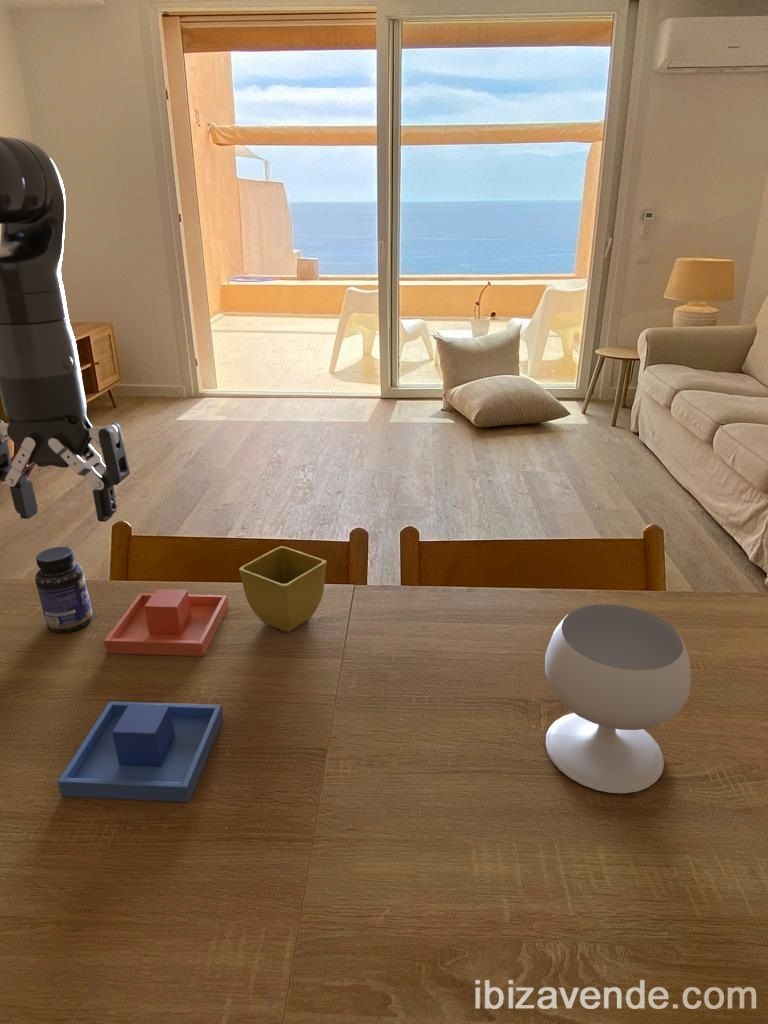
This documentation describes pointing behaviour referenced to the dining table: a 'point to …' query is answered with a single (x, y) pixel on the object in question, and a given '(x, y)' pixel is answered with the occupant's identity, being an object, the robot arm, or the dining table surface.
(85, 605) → the pill bottle
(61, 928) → the dining table surface
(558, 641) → the chalice
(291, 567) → the flower pot
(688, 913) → the dining table surface
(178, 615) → the terracotta block
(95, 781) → the slate-blue tray
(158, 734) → the slate-blue block
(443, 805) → the dining table surface
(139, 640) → the terracotta tray
